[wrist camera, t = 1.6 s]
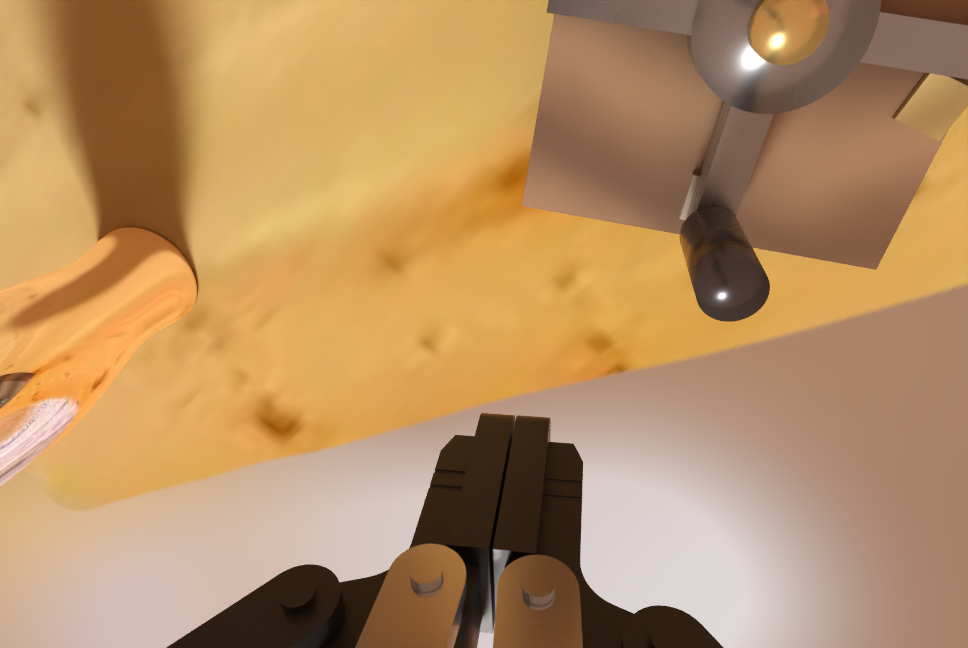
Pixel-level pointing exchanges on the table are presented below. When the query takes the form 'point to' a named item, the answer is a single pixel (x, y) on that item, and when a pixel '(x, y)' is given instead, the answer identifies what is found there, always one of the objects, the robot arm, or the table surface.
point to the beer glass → (81, 335)
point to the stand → (691, 123)
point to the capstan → (767, 100)
